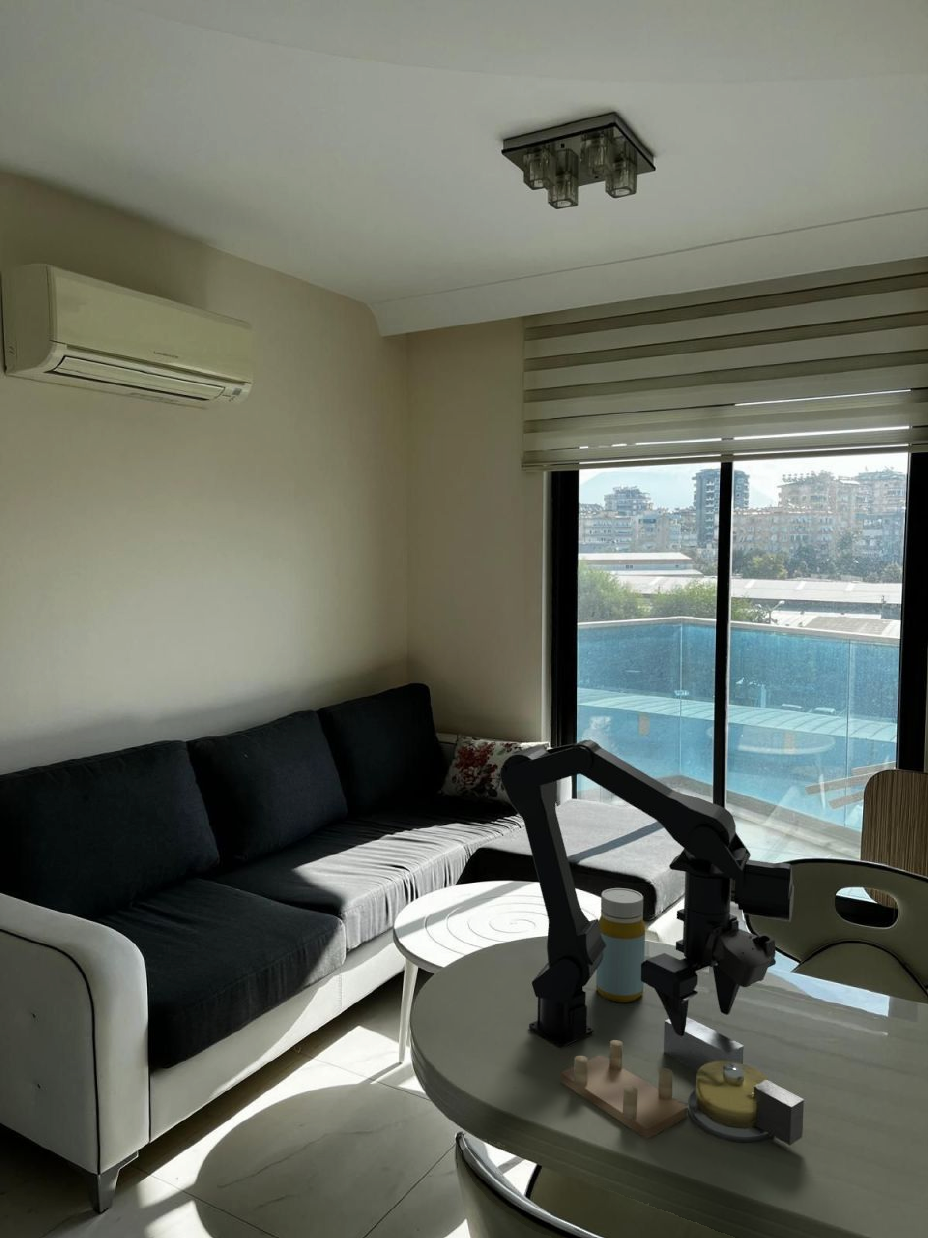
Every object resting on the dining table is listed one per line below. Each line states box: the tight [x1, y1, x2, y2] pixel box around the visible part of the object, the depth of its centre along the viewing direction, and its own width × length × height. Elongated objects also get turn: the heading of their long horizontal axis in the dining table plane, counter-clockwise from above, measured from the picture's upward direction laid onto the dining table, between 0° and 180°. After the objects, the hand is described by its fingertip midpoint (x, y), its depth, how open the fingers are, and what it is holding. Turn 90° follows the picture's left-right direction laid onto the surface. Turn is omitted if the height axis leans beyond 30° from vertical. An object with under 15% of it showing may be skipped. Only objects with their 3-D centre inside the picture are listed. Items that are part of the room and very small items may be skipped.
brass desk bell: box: [687, 1063, 772, 1143], centre depth 109 cm, size 10×10×6 cm
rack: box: [560, 1039, 688, 1140], centre depth 112 cm, size 14×8×4 cm, turn 38°
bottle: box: [595, 887, 646, 1003], centre depth 139 cm, size 7×7×15 cm
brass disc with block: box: [695, 1061, 805, 1146], centre depth 108 cm, size 13×8×4 cm
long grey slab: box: [663, 1016, 745, 1071], centre depth 120 cm, size 10×3×4 cm, turn 38°
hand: (702, 1024), depth 120 cm, fingers open, 9 cm apart
